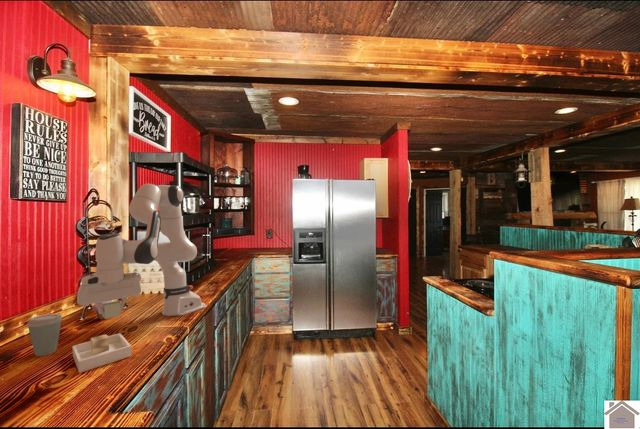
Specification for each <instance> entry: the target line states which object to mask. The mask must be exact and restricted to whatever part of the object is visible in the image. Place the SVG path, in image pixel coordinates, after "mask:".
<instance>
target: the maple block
mask: <svg viewBox="0 0 640 429" xmlns="http://www.w3.org/2000/svg"><path fill="white" fill-rule="evenodd" d="M108 336H109V335H107V334H106V333H105V334H102V335H101V334H100V335H98V336H93V337H90V341H91V351H92V353H93V354H97V353H101V352H104V351H107V350H109V338H108Z"/></svg>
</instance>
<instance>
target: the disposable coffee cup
mask: <svg viewBox="0 0 640 429" xmlns="http://www.w3.org/2000/svg"><path fill="white" fill-rule="evenodd" d="M62 320H63V316H62V315H61V314H58V313H50V314H43V315H37V316H35V317H31V318H29V319H28V321H27V325H26V326H27V327H28V332H29V335H30V340H31V345H32V348H33V352H34V353H33V354H34V355H35V356H36V357H44V356H48V355H51V354H53V353H55V352H57V349H58V343H59V337H60V330H61V326H62Z"/></svg>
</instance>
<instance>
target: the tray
mask: <svg viewBox="0 0 640 429" xmlns="http://www.w3.org/2000/svg"><path fill="white" fill-rule="evenodd" d="M107 336H108V338H109V350H107V351H104V352H101V353H97V354H93V353H92V351H91V340H90V341H85V342H82V343H78V344H75V345H72V357H73V360H74V363H75V366H76V368H77V370H78V373H83V372H84V373H85V372H87V371H90V370H92V369H96V368H99V367H102V366H105V365H108V364H111V363H114V362H117V361H120V360H124V359H126V358H130V357H132V345H131V344H130V343H129V341H128V340H127V339H126V338H125V337H124V336H123V334H122V333H121V332H120V333H116V334H112V335H107Z"/></svg>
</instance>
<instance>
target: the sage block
mask: <svg viewBox="0 0 640 429" xmlns="http://www.w3.org/2000/svg"><path fill="white" fill-rule="evenodd" d="M121 303H122V302H120V301H119V299H115V300H111V302H106V303H102V308H104V313H103V314H102V316H103V317H104V318H105V319H106V320H107V319H111V318H116V317H120V316H122V315H121V314H122V310H121ZM105 319H104V320H105Z"/></svg>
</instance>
